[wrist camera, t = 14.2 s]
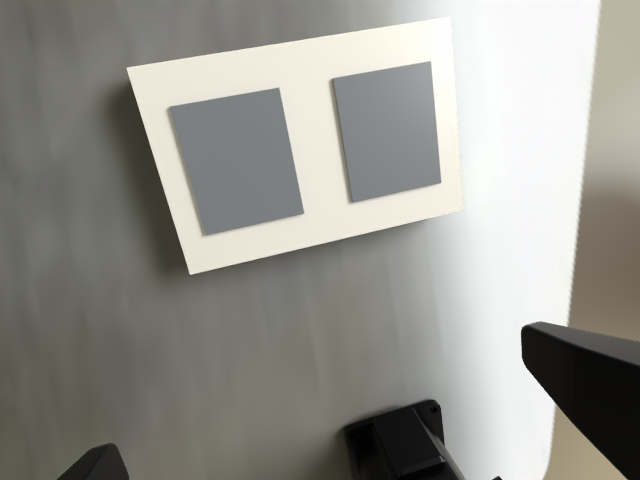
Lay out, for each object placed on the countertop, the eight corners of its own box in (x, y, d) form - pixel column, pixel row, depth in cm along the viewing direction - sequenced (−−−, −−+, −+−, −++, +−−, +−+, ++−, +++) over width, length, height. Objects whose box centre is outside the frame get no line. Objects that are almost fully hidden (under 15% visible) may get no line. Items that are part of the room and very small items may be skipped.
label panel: (443, 203, 21) (465, 210, 19) (195, 261, 19) (189, 276, 17) (428, 28, 19) (452, 15, 17) (139, 75, 17) (124, 66, 15)
